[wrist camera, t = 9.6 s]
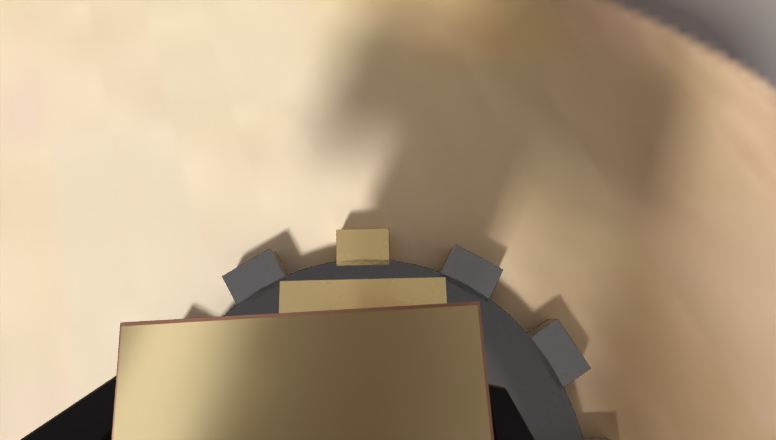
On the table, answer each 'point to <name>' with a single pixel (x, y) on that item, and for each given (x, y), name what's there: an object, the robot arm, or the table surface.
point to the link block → (306, 376)
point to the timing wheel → (419, 287)
